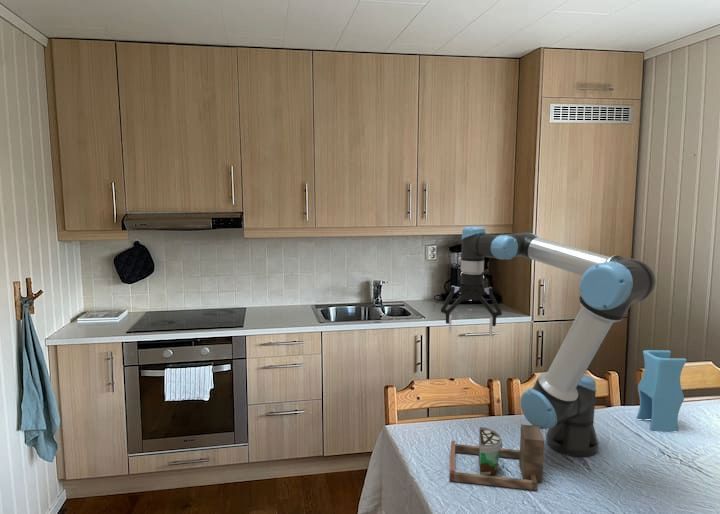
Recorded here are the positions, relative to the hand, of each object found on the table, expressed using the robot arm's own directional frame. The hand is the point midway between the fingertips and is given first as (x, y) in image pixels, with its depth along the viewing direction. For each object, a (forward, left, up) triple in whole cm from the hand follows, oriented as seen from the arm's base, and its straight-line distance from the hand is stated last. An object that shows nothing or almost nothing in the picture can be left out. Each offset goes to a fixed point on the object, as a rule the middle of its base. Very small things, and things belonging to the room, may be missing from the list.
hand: (470, 334), depth 175 cm
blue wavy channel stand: (-64, -9, -31) cm, 72 cm away
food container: (-6, +32, -31) cm, 45 cm away
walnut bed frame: (-7, +32, -30) cm, 45 cm away
